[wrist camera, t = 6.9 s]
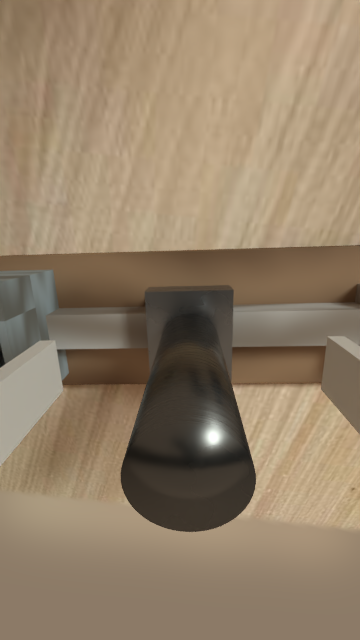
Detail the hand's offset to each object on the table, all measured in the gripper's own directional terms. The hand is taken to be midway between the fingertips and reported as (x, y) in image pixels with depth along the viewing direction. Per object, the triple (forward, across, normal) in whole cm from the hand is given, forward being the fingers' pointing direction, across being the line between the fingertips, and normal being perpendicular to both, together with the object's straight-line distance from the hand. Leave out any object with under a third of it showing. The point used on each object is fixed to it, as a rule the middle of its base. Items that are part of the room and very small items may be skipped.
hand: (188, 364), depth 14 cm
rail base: (+8, 0, 0) cm, 8 cm away
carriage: (+7, 0, 0) cm, 7 cm away
